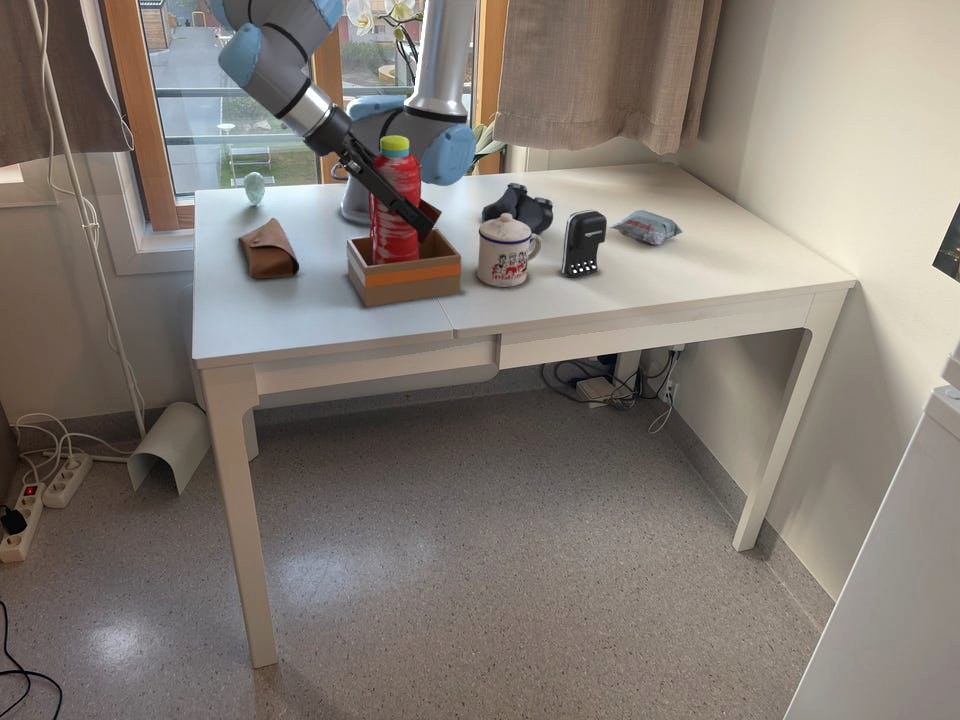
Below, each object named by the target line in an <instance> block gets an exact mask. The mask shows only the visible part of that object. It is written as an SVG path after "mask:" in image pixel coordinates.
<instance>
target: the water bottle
mask: <svg viewBox="0 0 960 720" xmlns="http://www.w3.org/2000/svg"><path fill="white" fill-rule="evenodd" d="M380 146H381V152H379V153H378V155H377V158H375V160H374V162H375V168H376V169H377V170H378V171H379V172H380V173H381V174H382V175H383V176H384V177H385V178H386V179H387V181H388V182H389V183H390V184H391V185H392V186H393V187H394V188H395V189H396V190H397V191H398V192H399V193H400V194H401V195H402V196H403V197H406V198H407V199H408V200H410V201H411V202H412V203H413V204H414V205H415V206H416V207H417V208H418V209H419V210H420V211H421V212H422V213H424V214H425V215H426V216H427V217H428V218H429V219H430V220H431V221H432V222H433V223H434V226H433V227H432V228H431V229H430V230H429V231H428V232H427V233H426V234H425V235H424V236H421V235H420V234H419V233H418V232H417V231H416V230H415V229H414V228H413V227H411V226H410V225H409V224H408V223H407V222H406V221H405V220H404V219H403V218H401V217H400V216H399V215H398V214H397V213H396V212H395V211H394V212H393V213H392V214H389V213H388V211H389V210H388V208H386V207H385V206H384V205H383V204H382V203H381V202H380V201H379V200H378V199H377V198H376V197H375V196H374V195H373V194H372V193H371V192H370V191H369V196H368V201H369V218H370V220H371V222H372V225H371V226H370V227H369V236H370V237H372V236H373V239H374V243H373V265H381V264H389V263H396V262H404V261H412V260H419V251H418V241H419V242H420V243H421V244H423V242H424V241H426V239H427V238H428V236H429V234H430V232H431V231H432V229H434V227H435V226H436V224H437V222H438V220H439V219H440V218H441V215H442V213H443V211H442V210H440V209H438V208H437V207H436V206H433V205H432V204H431V203H429V202H427V201H426V200H425V199H422V181H421V176H422V173H421V169H422V165H420V163H419V162H418V161H417V160H416V159H415V157H414V156H413V155H411V153H410V152H409V140H408V139H407V138H406V137H402V136H396V135H393V136H386V137H383V138H381V139H380ZM418 170H420V175H419V171H418ZM370 197H372V205H373V219H372V217H371V199H370Z"/></svg>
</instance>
